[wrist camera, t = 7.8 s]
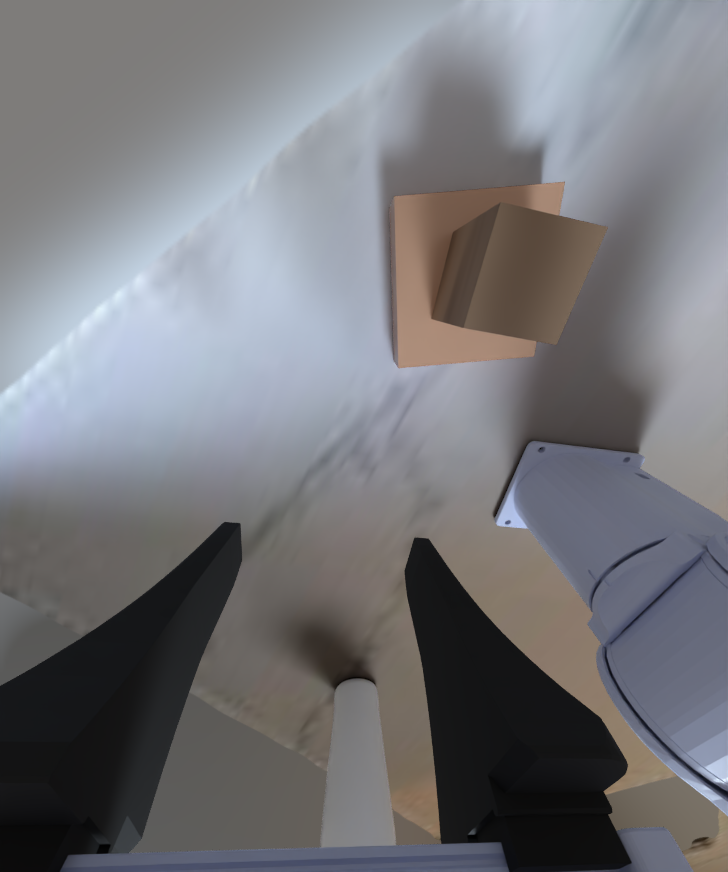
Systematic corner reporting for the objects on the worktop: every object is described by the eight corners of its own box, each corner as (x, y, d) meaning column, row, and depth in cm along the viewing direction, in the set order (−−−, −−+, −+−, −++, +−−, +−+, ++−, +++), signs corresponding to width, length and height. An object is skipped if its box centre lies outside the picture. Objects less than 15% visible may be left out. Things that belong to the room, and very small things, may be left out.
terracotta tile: (534, 198, 16) (565, 181, 13) (512, 349, 19) (534, 356, 17) (387, 210, 16) (394, 195, 13) (392, 359, 19) (398, 368, 17)
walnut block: (528, 248, 14) (608, 227, 10) (499, 331, 16) (556, 344, 12) (452, 232, 14) (500, 201, 10) (431, 319, 16) (463, 328, 11)
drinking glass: (328, 701, 37) (316, 931, 24) (328, 673, 34) (314, 916, 21) (380, 700, 38) (397, 925, 24) (385, 672, 35) (407, 910, 21)
